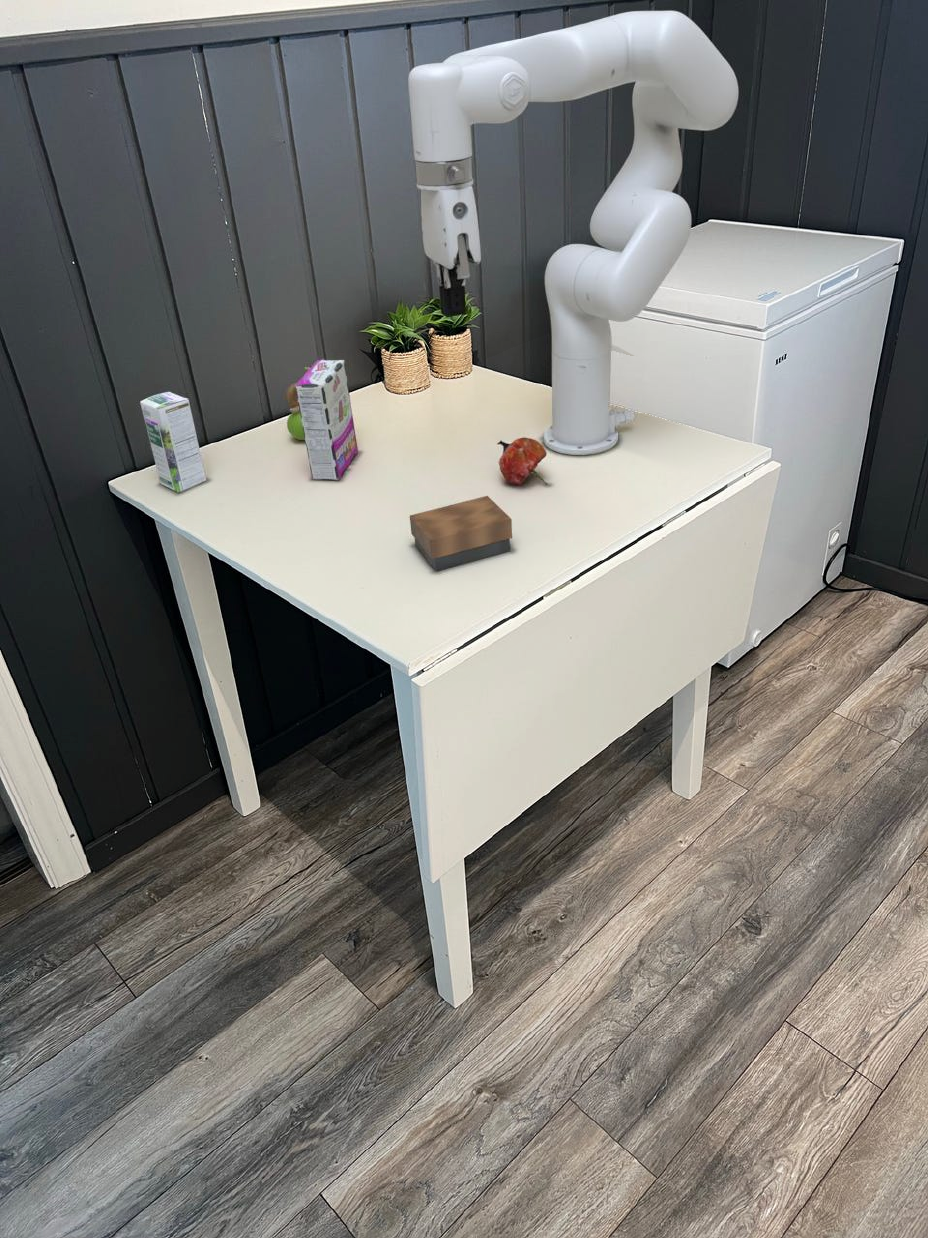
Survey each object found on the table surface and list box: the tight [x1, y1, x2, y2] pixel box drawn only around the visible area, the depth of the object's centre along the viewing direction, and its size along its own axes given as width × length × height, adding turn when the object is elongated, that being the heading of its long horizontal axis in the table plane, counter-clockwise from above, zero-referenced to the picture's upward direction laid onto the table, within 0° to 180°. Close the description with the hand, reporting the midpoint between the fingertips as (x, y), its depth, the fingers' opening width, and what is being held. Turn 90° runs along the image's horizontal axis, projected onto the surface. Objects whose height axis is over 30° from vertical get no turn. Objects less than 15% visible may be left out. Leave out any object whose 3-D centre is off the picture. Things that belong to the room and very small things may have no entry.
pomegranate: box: [497, 436, 548, 486], centre depth 148 cm, size 7×7×10 cm
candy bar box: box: [295, 359, 359, 481], centre depth 154 cm, size 11×5×16 cm, turn 168°
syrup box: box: [139, 391, 207, 493], centre depth 152 cm, size 6×6×14 cm
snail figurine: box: [285, 366, 311, 441], centre depth 165 cm, size 5×6×12 cm
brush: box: [409, 495, 513, 572], centre depth 132 cm, size 12×5×8 cm
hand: (453, 313), depth 134 cm, fingers closed
